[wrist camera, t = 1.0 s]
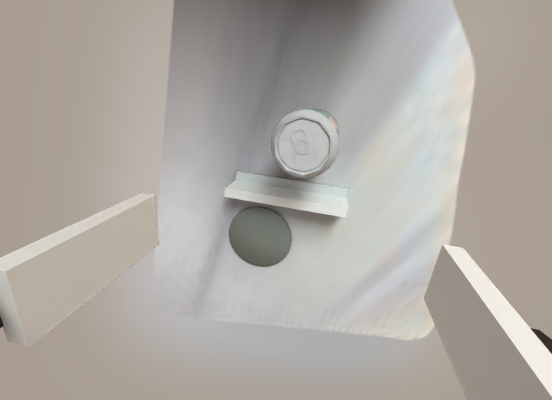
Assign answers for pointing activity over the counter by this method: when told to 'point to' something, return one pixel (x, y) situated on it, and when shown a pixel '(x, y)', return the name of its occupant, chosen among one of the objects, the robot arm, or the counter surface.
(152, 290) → the counter surface
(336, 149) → the beer can
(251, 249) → the coaster
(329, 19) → the counter surface
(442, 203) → the counter surface
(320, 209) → the divider
